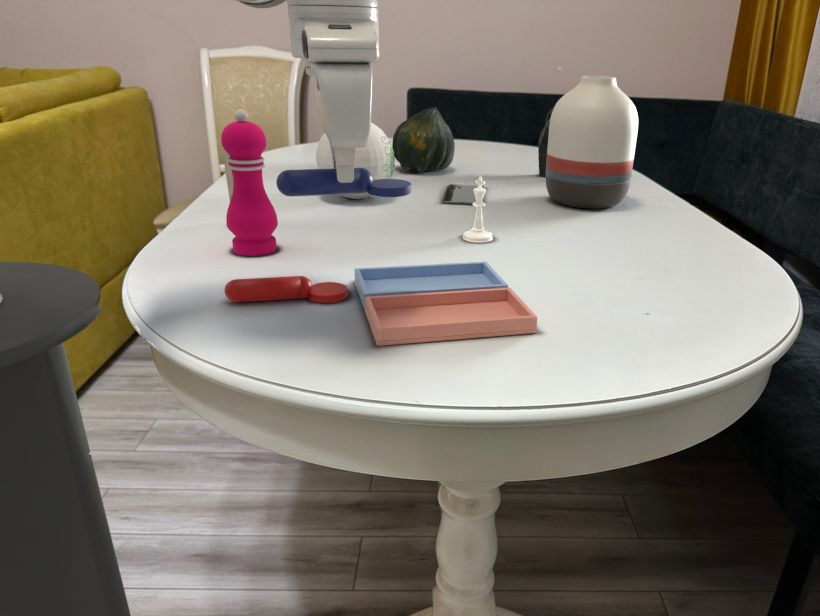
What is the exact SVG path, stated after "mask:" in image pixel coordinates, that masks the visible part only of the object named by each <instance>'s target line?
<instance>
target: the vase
mask: <svg viewBox="0 0 820 616" xmlns="http://www.w3.org/2000/svg"><path fill="white" fill-rule="evenodd" d="M554 106H555V107H554ZM554 106H553V107H554V109H553V111H552V112H551V114H550V117H551V119H550V118H549V119H550V126H549V137H548V149H547V161H546V177H544V178H545V187H546V191H547V193H548V195H549V198H551V199H552V200H553V201H555V202H557V203H559V204H560V205H563V206H567V207H573V208H578V209H594V210H595V209H607V208H612V207H614V206H616V205H619V204H621V202H622V201H624V199H625V198H626V196H627V194H628V191H629V189H630V186H631V182H632V181H631V180H632V173H633V167H634V161H635V155H636V154H635V153H636V147H637V138H638V131H639V115H638V111H637V107H636V105H635V104H634V102H633V100H632V99H631V98H630V97H628V95H627V94H626V93H624V92H623V91H622V89H621V88H620V87H619V86H618V84H617V78H616V77H615V76H605V75H582V76H581V78H580V81H579V83H578V84H577V85H576V86H575V87H573V88H572V89H571V90H569V91H568V92H566V93H565V94H564V95H563V96H561V97H560V98H559V99H558V100H557V102H556V103H555V105H554Z"/></svg>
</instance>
